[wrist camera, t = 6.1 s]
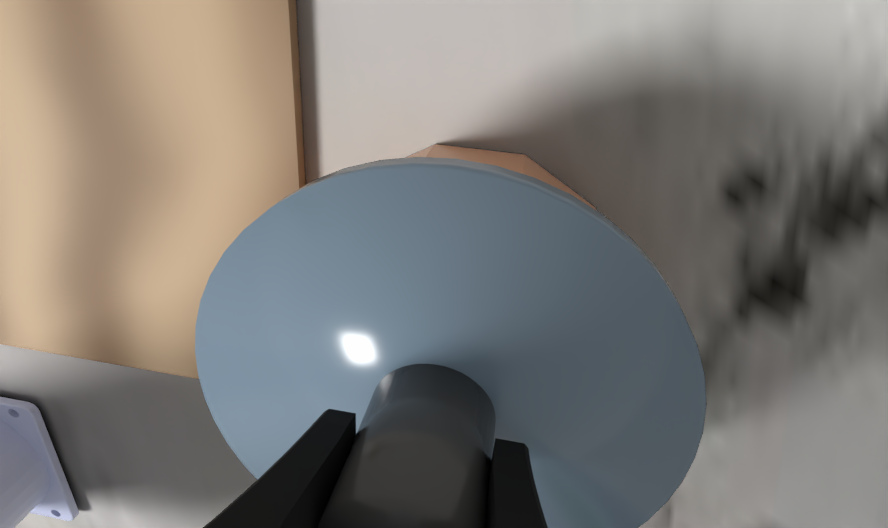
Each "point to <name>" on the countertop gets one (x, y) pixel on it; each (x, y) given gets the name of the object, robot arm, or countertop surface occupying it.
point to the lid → (453, 346)
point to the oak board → (136, 165)
